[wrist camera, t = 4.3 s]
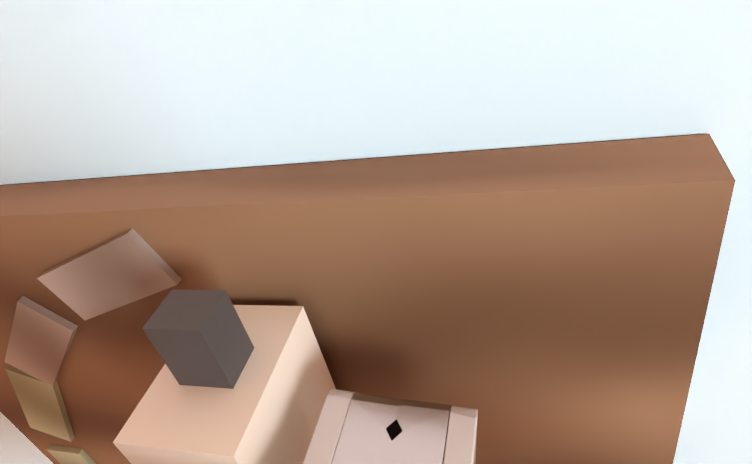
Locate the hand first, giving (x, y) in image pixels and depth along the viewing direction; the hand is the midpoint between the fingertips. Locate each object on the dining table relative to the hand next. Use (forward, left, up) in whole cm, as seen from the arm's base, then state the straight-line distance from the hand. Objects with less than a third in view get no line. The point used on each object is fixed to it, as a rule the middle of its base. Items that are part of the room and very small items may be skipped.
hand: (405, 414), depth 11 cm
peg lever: (+3, -4, -1) cm, 5 cm away
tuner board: (+5, -5, -3) cm, 8 cm away
